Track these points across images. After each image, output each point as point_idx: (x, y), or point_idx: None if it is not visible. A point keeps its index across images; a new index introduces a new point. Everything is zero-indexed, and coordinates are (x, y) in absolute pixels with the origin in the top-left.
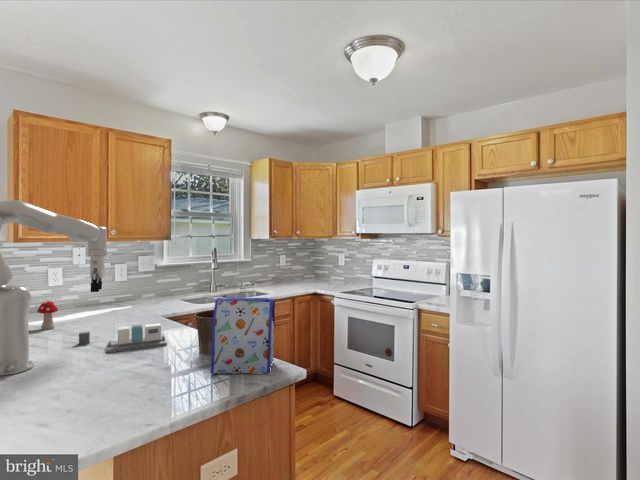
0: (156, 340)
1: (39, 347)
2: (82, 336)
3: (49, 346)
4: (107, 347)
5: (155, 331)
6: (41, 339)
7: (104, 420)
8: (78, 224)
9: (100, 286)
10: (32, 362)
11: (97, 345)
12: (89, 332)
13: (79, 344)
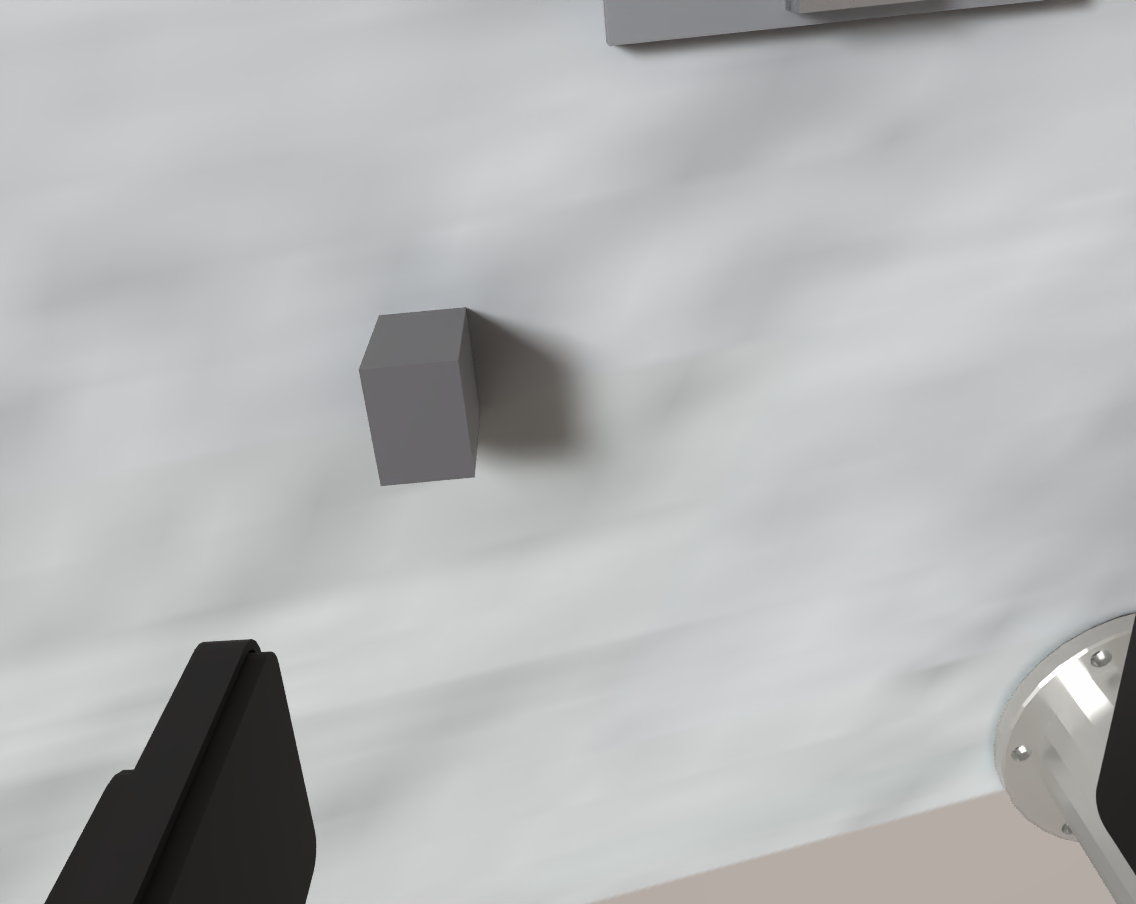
0: None
1: (443, 744)
2: (470, 422)
3: (434, 676)
4: (934, 3)
5: None
6: None
7: None
8: None
9: (247, 753)
10: (1114, 641)
11: (593, 185)
12: (408, 365)
13: (479, 410)
